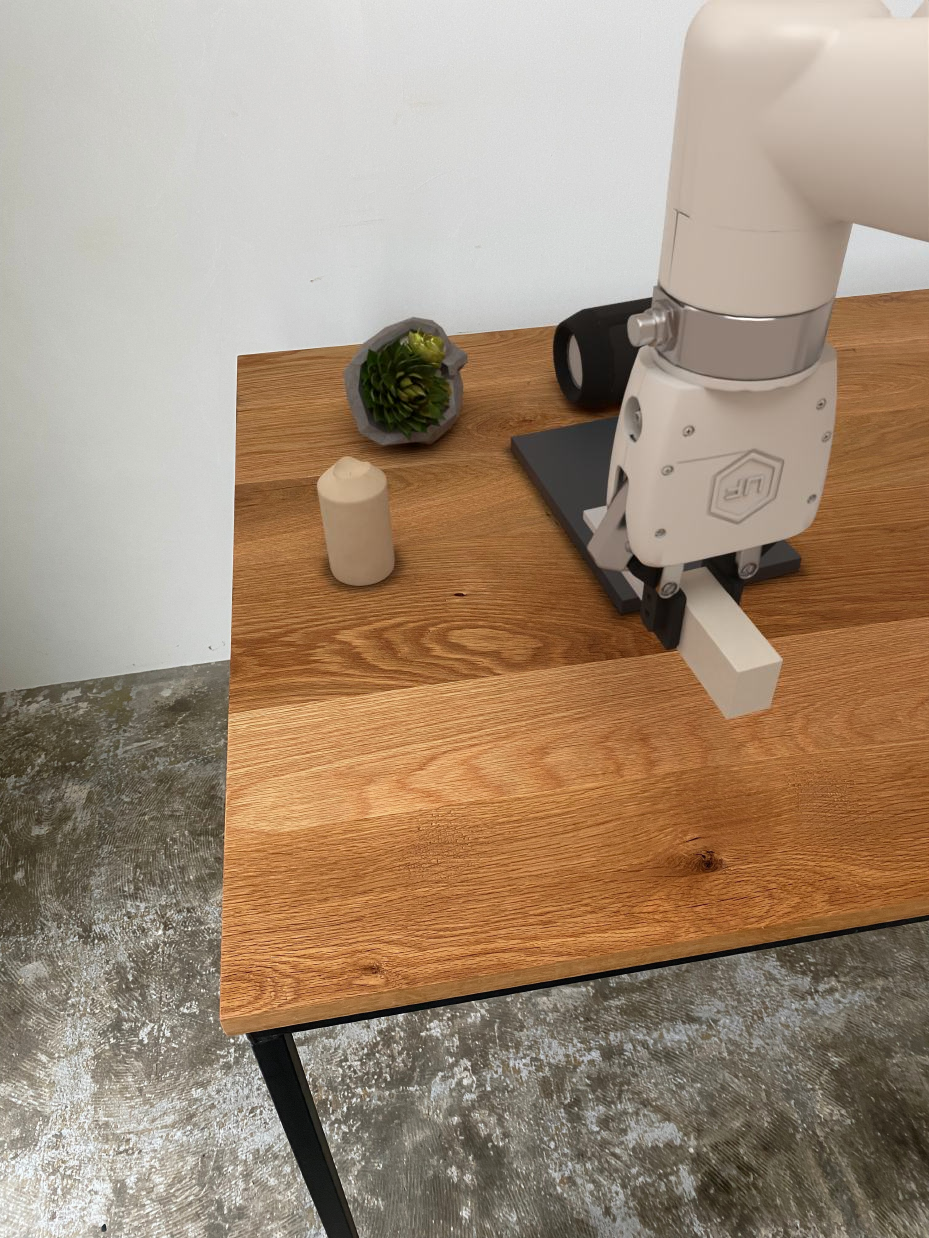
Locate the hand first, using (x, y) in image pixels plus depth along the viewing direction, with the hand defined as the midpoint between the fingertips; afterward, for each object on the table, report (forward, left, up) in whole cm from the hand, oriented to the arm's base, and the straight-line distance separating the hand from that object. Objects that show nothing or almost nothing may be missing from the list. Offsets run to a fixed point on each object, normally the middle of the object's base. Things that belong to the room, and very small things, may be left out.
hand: (686, 624), depth 54 cm
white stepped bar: (0, -2, 0) cm, 2 cm away
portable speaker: (-25, -47, -13) cm, 55 cm away
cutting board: (-12, -28, -13) cm, 33 cm away
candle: (+14, -28, -13) cm, 34 cm away
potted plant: (+4, -47, -13) cm, 49 cm away
